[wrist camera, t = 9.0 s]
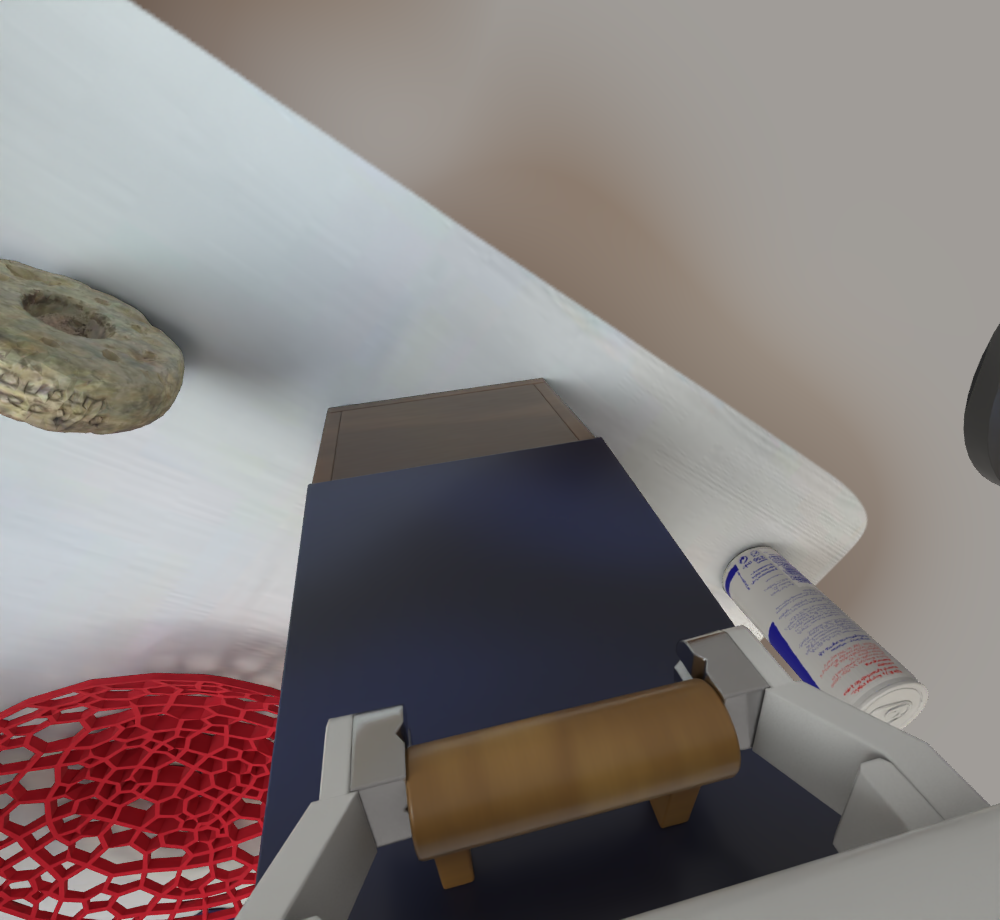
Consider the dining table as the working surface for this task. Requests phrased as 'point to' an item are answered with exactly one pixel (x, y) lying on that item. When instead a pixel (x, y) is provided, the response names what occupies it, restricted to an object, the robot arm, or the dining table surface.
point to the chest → (443, 428)
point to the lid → (525, 695)
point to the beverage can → (821, 638)
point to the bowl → (142, 791)
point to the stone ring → (80, 356)
